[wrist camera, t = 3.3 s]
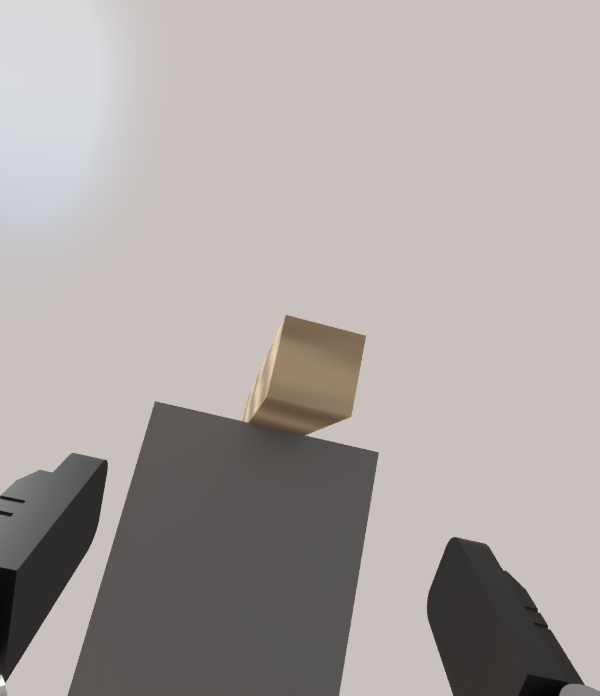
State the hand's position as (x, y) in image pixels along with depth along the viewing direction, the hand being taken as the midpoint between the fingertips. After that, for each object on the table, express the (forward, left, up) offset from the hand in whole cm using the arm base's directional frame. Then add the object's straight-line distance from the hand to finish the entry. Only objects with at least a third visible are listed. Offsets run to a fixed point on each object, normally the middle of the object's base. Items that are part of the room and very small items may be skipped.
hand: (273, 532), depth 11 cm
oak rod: (-11, +11, +4) cm, 16 cm away
